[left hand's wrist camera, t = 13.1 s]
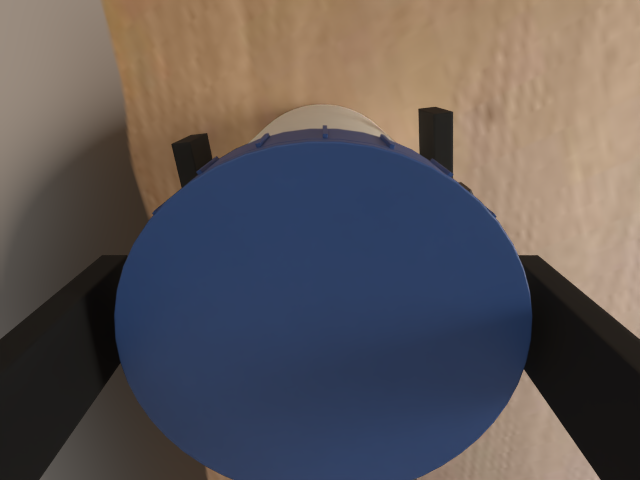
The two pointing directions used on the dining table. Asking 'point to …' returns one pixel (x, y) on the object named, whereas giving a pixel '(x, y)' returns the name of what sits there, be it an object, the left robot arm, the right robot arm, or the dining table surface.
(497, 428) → the dining table surface
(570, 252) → the dining table surface
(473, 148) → the dining table surface
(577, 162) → the dining table surface
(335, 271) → the lid
